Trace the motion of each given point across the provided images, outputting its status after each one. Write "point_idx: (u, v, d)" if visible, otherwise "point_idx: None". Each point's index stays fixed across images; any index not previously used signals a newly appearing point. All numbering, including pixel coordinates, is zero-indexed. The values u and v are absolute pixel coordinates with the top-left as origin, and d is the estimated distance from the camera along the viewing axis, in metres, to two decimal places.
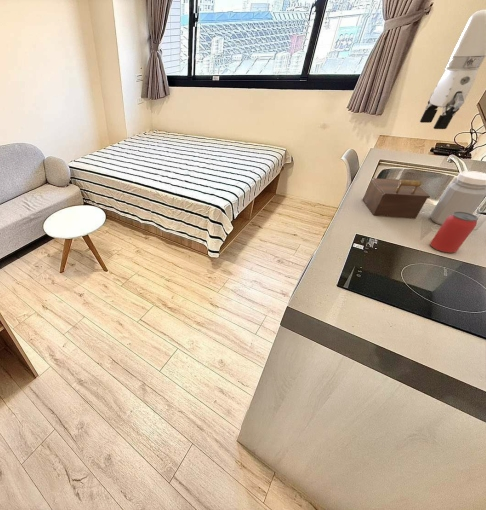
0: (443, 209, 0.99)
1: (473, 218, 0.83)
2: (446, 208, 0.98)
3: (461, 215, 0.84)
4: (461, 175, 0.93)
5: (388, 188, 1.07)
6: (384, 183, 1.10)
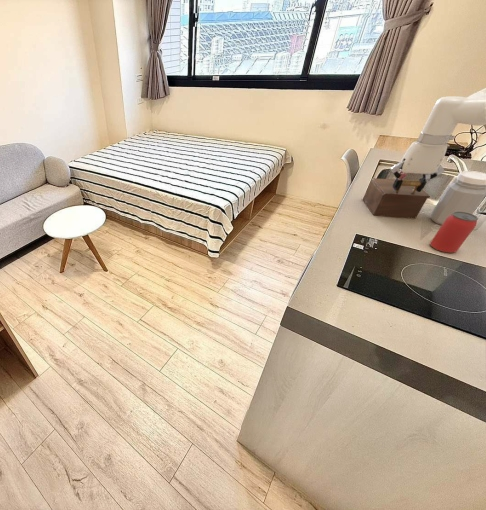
0: (443, 209, 0.99)
1: (473, 218, 0.83)
2: (446, 208, 0.98)
3: (461, 215, 0.84)
4: (461, 175, 0.93)
5: (388, 188, 1.07)
6: (384, 183, 1.10)
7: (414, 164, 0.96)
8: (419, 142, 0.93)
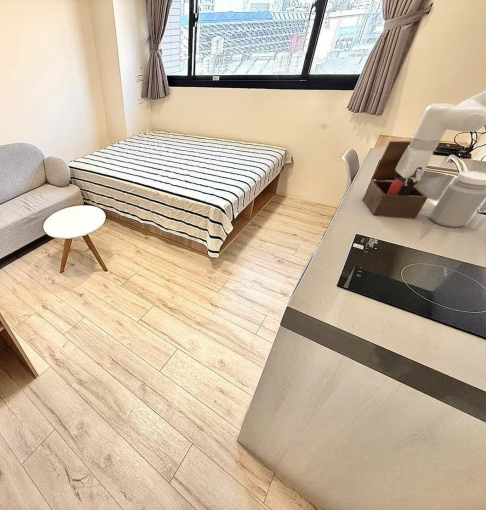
0: (443, 209, 0.99)
1: None
2: (446, 208, 0.98)
3: (402, 179, 1.05)
4: (461, 175, 0.93)
5: None
6: None
7: None
8: (430, 149, 0.94)
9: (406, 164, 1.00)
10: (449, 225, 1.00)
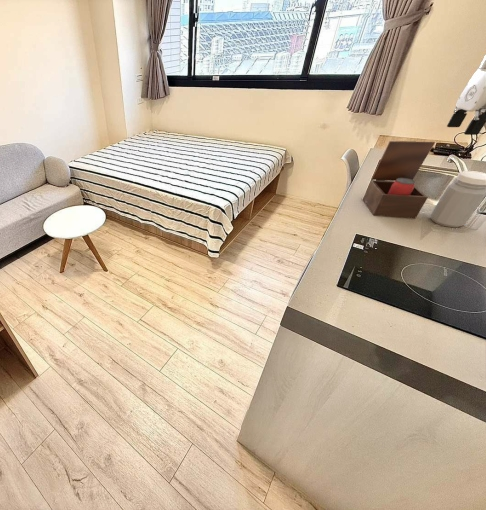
0: (443, 209, 0.99)
1: (411, 182, 1.03)
2: (446, 208, 0.98)
3: (402, 180, 1.05)
4: (461, 175, 0.93)
5: None
6: None
7: None
8: None
9: (474, 93, 0.79)
10: (449, 225, 1.00)
